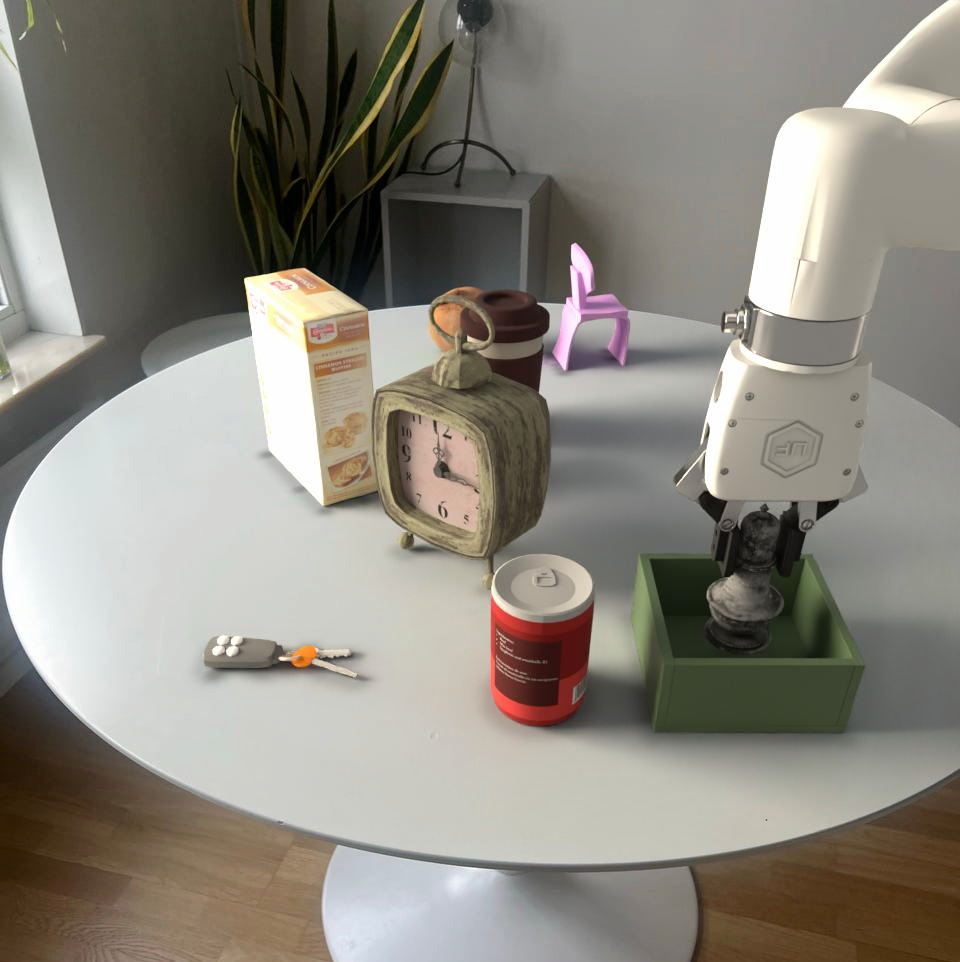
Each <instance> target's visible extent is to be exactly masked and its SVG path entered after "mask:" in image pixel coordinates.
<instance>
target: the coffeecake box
mask: <svg viewBox="0 0 960 962" xmlns="http://www.w3.org/2000/svg"><path fill="white" fill-rule="evenodd" d="M244 287H245V291H246V299H247V307H248V312H249V319H250V326H251V332H252V340H253V347H254V353H255V354H254V355H255V361H256V367H257V373H258V375H257V376H258V382H259V389H260V395H261V401H262V407H263V414H264V421H265V429H266V436H267V442H268V443H267V444H268V450H269V451H270V453H272V455H273V456H274V457H275V458H276V459H277V460H278V461H279V462H280V463H281V464H282V465H283V466H284V467H285V468H286V469H287V471H289V472H290V474H292V475H293V477H294V478H295V479H296V480H297V481H298V482H299V483H300V484H301V485H302V486H303V487H304V488H305V489H306V490H307V491H308V493H310V494H311V495H312V496H313V497H314V499H316V500H317V501H318V503H320V504H321V505H322V507H326V506H329V505H333V504H336V503H339V502H343V501H346V500H350V499H353V498H357V497H361V496H365V495H369V494H372V493H375V492H378V488H377V483H376V477H375V469H374V462H373V454H372V422H371V419H372V406H373V400H374V397H375V394H374V380H373V366H372V353H371V351H372V350H371V339H370V337H371V336H370V325H369V308H367V307H365V306H364V305H362V304H361V303H359V302H357V301H356V300H355V299H353V298H352V297H350V296H349V295H347V294H345V293H344V292H342V291H340V290H339V289H337V288H336V287H335V286H333V285H331V284H330V283H329V282H327V281H326V280H324V279H322V278H321V277H319V276H318V275H316V274H315V273H314V272H312V271H310V270H309V269H307V268H305V267H299V268H293V269H286V270H281V271H276V272H272V273H267V274H261V275H255V276H249V277H244Z"/></svg>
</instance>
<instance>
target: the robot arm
mask: <svg viewBox="0 0 960 962" xmlns="http://www.w3.org/2000/svg"><path fill="white" fill-rule="evenodd" d="M769 167H770V168H769V174H768V180H767V185H766V191H765V197H764V202H763V203H764V204H763V208H762V216H761V220H760V227H759V231H758V238H757V243H756V249H755V254H754V261H753V266H752V267H753V268H752V270H751V271H752V273H751V278H750V283H749V289H748V294H745V295H744V300H743V303H741V305H740V308H734V310H723V312H722V314H721V319H720V330H721V333H722V334H723V333H726V334H727V333H731V334H732V335H733V336H735V335H736V336H738V338H736V339H733V340H732V341H731V343H730V344H729V347H728V349H727V351H726V354H725V356H724V358H723V362H722V364H721V367H720V369H719V373H718V375H717V377H716V378H717V379H716V380H715V381H716V382H715V385H714V387H713V391H712V394H711V398H710V402H709V406H708V409H707V413H706V417H705V421H704V426H703V430H702V435H701V440H700V445H699V447H698V448H697V449H696V450H695V451H694V452H693V454H692V455H691V456H690V457H689V459H687V461H686V462H685V463H684V464H683V466H682V467H681V468H680V469H679V471H677V473H676V474H675V475H674V477H673V478H672V479H673V480H672V482H673V485H674V488H675V491H676V492H677V493H678V494H679V495H680V496H682V497H684V498H686V499H688V500H689V501H691V502H692V503H696V504H698V505H699V506H700V508H702V510H703V511H704V512H705V513H706V514H707V515H708V516H709V517H710V518H711V519H712V520H713V521H714V526H713V534H712V540H711V543H710V553H711V557H712V560H713V561H718V564H719V567H720V570H721V573H722V576H723V577H731V575H733V574H734V569H735V564H736V559H737V554H738V549H739V545H740V540H741V532H740V527H739V518H740V516H741V513H742V511H743V509H744V506H745V503H746V502H750V503H751V502H754V503H756V502H758V503H760V502H762V503H763V502H764V503H769V502H770V503H771V502H772V503H789V508H788V509H786V510H782V513H781V514H779V518H778V520H779V522H780V532H779V537H778V541H777V545H776V550H775V553H776V554H777V556H778V563H777V565H776V569H777V571H778V573H779V575H780V576H782V577H790V576H791V572H792V568H793V564H794V561H799V560H800V556H801V554H802V552H803V548H804V545H805V541H806V537H807V533H809V532H811V531H813V529H815V527H816V526H817V525H816V524H817V522H818V521H819V520H820V519H822V518H823V517H825V516H826V515H828V514H829V513H831V512H832V511H834V510H835V509H837V507H838V506H839V504H841V503H843V504H844V503H846V502H849V501H850V500H852V499H855V498H857V497H859V496H861V495H863V494H865V493H866V492H867V491H868V488H869V485H868V483H867V480H866V477H865V475H864V473H863V471H862V468H861V465H860V461H861V458H862V453H863V452H862V451H863V447H864V441H865V436H866V430H867V423H868V417H869V408H870V399H871V391H872V390H871V389H872V379H873V377H872V376H873V357H872V356H871V354H869V352H867V351H866V350H865V349H864V348H863V344H864V340H865V335H866V332H867V329H868V326H869V325H868V324H869V320H870V316H871V313H872V307H873V305H874V301H875V296H876V292H877V288H878V285H879V280H880V277H881V273H882V270H883V265H884V262H885V258H886V254H887V252H888V251H889V250H890V249H892V248H915V249H927V250H935V251H936V250H937V251H954V252H955V251H960V0H947V1H946V2H944V3H943V4H942V5H940V6H939V7H937V8H936V9H935V10H933V11H932V12H931V13H930V14H929V15H927V16H926V17H924V19H922V20H921V21H920V22H919V23H918V24H917V25H916V26H914V28H913V29H912V30H910V31H909V33H907V34H906V35H905V37H903V39H902V40H901V41H900V42H899V43H897V44H896V46H895V47H893V49H892V50H891V51H890V52H889V53H888V54H887V55H886V56H885V57H884V58H883V59H882V60H881V61H880V62H879V63H878V64H877V65H876V66H875V67H874V68H873V70H872V71H870V73H869V74H868V75H867V76H866V77H865V78H864V79H863V80H862V81H861V82H860V84H859V85H858V86H857V87H856V88H855V90H853V92H852V94H851V95H850V96H849V97H848V99H847V100H846V101H845V103H844V104H843V105H842V106H827V107H813V108H808V109H804V110H802V111H798V112H796V113H794V114H792V115H791V116H790V117H789V118H787V119H786V121H784V123H783V124H782V125H781V128H780V129H779V131H778V133H777V136H776V137H775V143H774V146H773V151H772V157H771V163H770V166H769ZM703 479H704V482H705V483H704V482H703V481H702V480H703Z"/></svg>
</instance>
